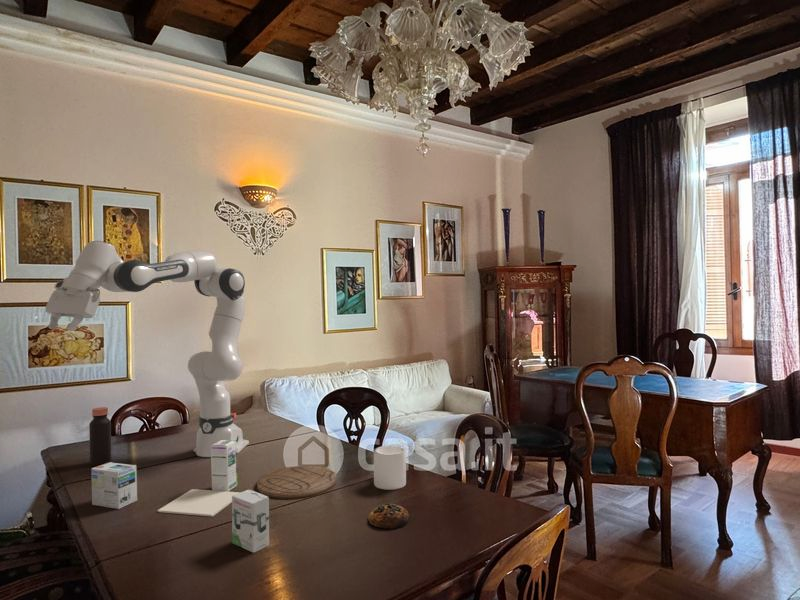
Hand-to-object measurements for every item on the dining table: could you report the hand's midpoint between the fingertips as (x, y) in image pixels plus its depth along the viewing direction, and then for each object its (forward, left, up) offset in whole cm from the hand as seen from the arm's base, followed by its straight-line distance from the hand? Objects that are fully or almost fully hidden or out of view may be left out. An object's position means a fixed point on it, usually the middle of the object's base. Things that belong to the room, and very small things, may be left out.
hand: (60, 329), depth 151 cm
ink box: (+15, +69, -51) cm, 88 cm away
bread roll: (-4, +99, -51) cm, 112 cm away
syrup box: (-17, +43, -51) cm, 69 cm away
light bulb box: (-1, +17, -51) cm, 54 cm away
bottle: (-32, -16, -51) cm, 62 cm away
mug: (-31, +93, -51) cm, 111 cm away
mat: (-5, +43, -51) cm, 67 cm away
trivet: (-25, +64, -52) cm, 86 cm away
